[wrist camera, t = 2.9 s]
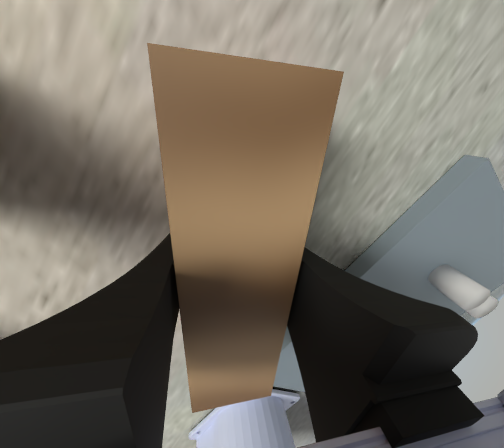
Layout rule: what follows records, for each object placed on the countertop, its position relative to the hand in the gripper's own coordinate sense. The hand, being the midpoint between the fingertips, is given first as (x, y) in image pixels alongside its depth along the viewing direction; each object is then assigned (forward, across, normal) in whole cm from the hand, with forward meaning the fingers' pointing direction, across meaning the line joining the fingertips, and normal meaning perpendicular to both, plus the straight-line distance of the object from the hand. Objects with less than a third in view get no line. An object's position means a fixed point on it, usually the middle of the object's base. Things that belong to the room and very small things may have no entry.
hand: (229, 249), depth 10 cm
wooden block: (+1, 0, 0) cm, 1 cm away
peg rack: (+1, -14, +7) cm, 16 cm away
